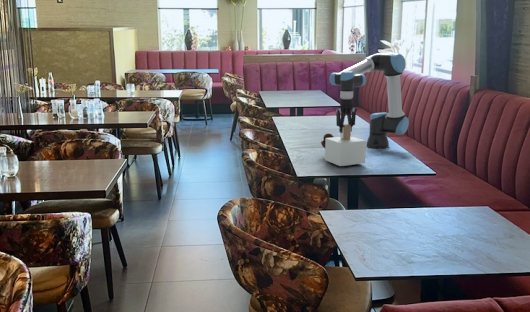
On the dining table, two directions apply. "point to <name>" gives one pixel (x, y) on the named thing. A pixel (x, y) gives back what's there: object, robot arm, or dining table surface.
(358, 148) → the white box with knob
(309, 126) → the dining table surface
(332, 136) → the ice cream bowl
